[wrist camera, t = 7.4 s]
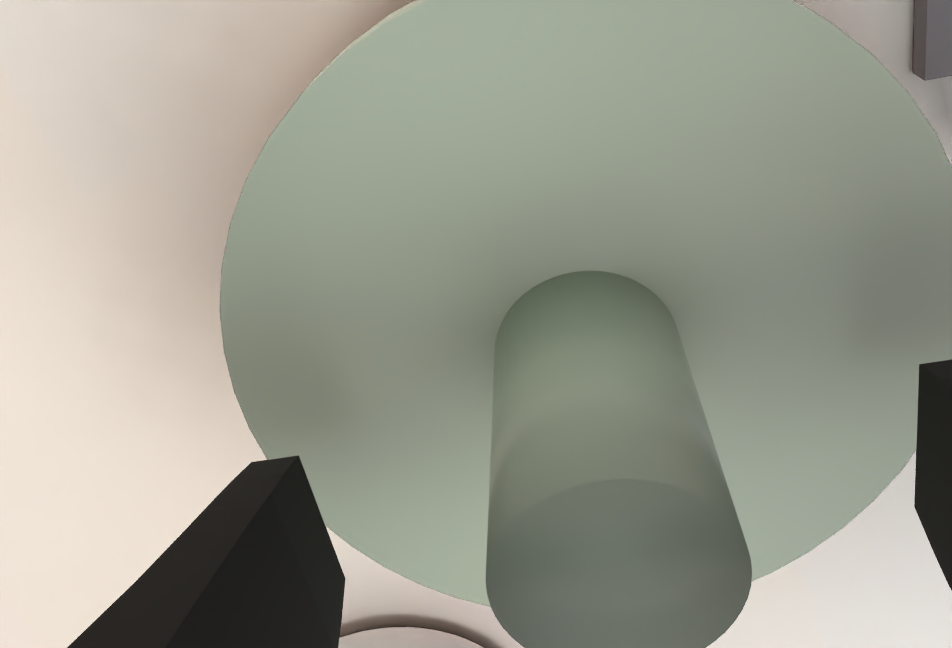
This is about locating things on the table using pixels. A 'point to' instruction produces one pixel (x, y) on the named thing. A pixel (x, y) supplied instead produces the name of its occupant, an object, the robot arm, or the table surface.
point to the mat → (932, 39)
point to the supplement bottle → (404, 639)
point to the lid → (593, 302)
